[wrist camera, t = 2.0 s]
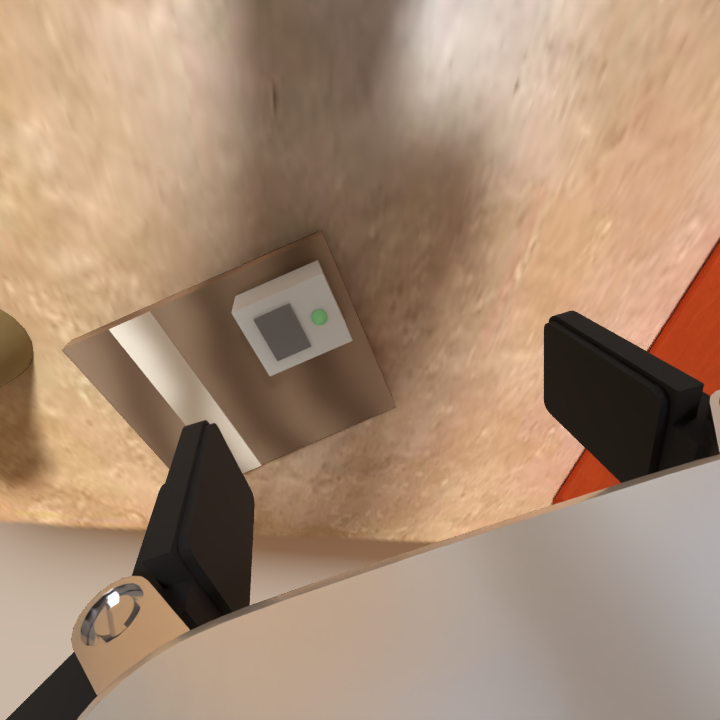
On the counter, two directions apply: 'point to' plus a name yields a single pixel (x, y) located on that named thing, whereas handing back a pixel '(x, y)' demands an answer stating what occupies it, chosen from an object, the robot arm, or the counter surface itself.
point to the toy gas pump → (671, 363)
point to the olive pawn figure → (13, 348)
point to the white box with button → (291, 318)
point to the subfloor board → (231, 368)
